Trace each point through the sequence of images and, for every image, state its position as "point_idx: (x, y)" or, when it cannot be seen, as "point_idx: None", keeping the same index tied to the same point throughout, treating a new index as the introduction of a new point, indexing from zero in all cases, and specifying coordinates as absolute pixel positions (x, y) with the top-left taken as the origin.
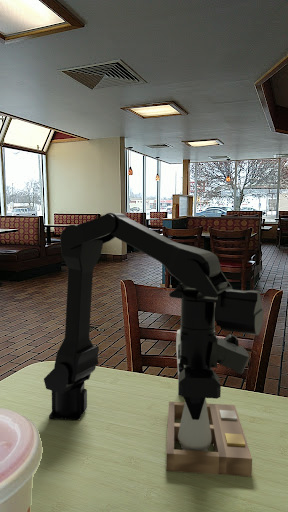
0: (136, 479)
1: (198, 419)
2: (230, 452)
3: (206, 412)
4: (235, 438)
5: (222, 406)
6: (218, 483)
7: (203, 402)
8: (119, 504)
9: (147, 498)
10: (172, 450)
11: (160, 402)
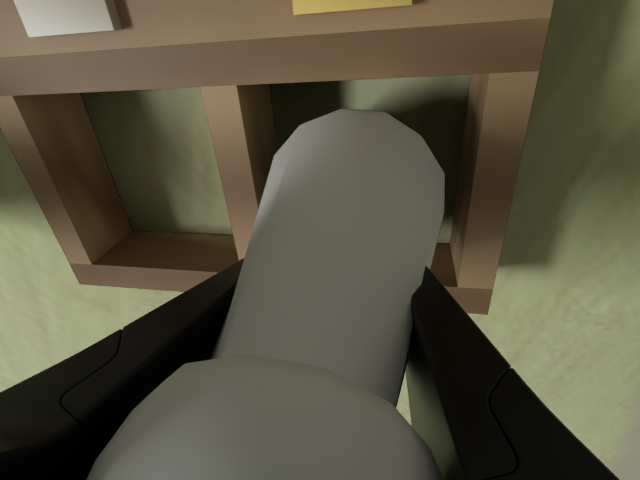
0: (515, 346)
1: (426, 268)
2: None
3: (369, 225)
4: None
5: None
6: (581, 62)
7: (530, 392)
8: (630, 384)
9: (620, 322)
10: (464, 292)
11: (49, 272)
